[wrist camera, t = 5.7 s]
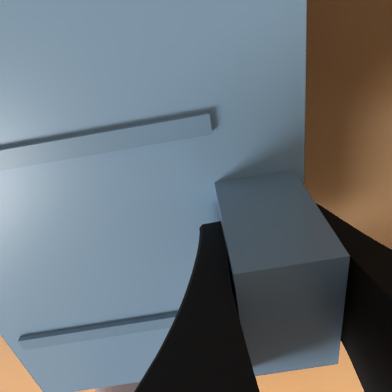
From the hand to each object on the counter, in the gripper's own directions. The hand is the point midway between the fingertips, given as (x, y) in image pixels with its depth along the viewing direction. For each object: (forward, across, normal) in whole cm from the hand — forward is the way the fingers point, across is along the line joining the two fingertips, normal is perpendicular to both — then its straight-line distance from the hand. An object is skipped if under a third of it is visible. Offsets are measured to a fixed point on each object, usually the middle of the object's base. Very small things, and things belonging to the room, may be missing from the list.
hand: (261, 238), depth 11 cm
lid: (+2, +4, 0) cm, 5 cm away
